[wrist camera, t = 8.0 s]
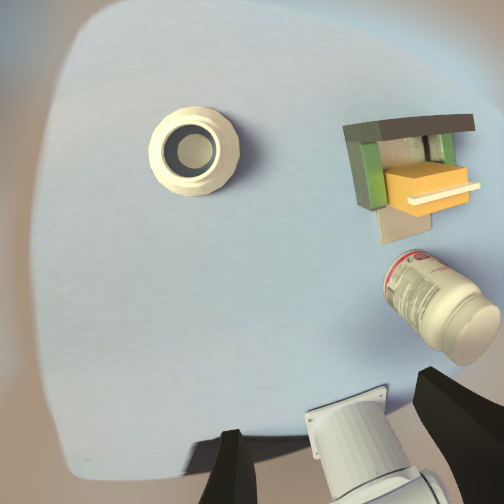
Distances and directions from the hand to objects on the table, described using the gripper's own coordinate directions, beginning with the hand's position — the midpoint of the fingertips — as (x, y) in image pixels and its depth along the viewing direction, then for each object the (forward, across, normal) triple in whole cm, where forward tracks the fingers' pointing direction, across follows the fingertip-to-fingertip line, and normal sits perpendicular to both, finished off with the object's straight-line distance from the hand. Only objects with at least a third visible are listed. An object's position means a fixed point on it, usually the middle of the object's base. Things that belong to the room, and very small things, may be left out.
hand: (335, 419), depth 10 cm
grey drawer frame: (+10, -9, -6) cm, 15 cm away
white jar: (+11, +3, -10) cm, 15 cm away
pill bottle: (+11, -9, +2) cm, 14 cm away
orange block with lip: (+10, -9, -6) cm, 15 cm away
